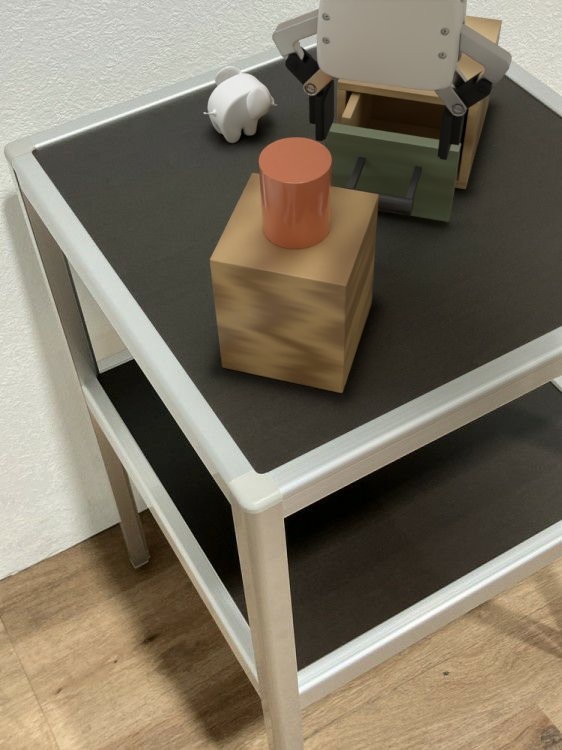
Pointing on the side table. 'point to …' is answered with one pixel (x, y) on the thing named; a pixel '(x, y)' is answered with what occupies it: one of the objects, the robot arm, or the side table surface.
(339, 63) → the robot arm
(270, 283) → the oak stand
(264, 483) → the side table surface
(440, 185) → the drawer
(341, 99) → the cabinet
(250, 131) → the elephant figurine
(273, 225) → the spice jar
